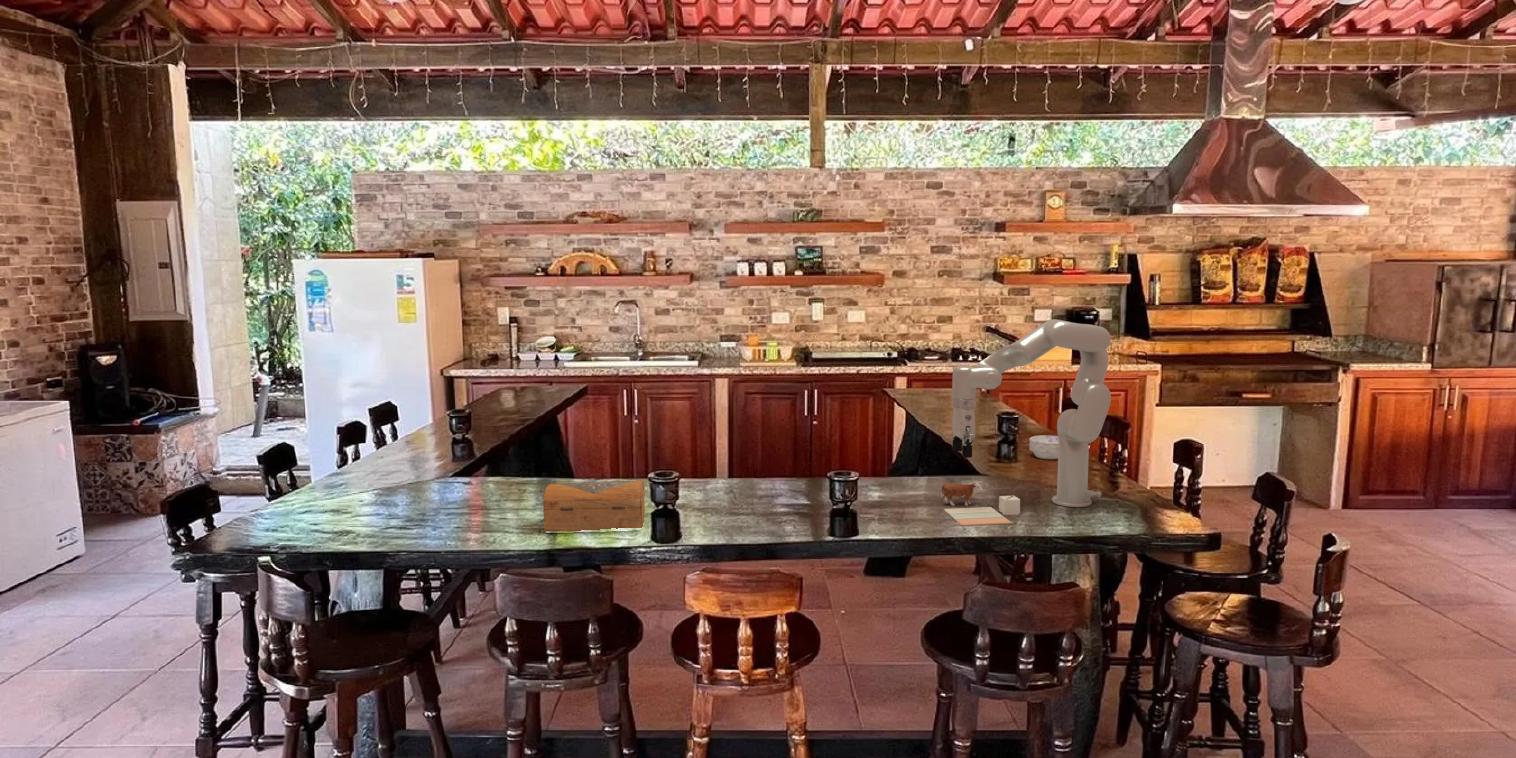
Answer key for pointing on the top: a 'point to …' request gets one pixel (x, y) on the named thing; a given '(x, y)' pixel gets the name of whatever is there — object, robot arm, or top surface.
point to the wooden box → (594, 505)
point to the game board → (977, 516)
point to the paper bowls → (1044, 446)
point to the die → (1009, 505)
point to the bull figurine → (960, 491)
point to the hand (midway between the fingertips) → (962, 454)
